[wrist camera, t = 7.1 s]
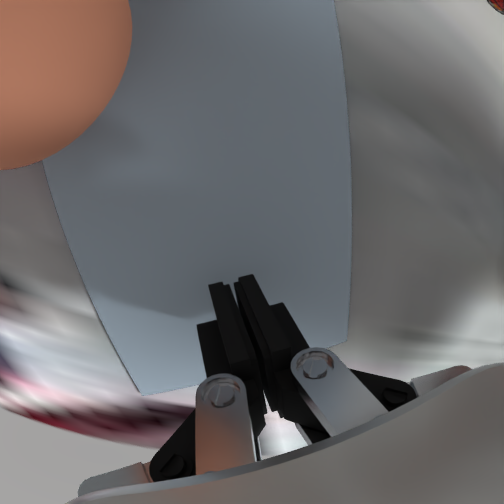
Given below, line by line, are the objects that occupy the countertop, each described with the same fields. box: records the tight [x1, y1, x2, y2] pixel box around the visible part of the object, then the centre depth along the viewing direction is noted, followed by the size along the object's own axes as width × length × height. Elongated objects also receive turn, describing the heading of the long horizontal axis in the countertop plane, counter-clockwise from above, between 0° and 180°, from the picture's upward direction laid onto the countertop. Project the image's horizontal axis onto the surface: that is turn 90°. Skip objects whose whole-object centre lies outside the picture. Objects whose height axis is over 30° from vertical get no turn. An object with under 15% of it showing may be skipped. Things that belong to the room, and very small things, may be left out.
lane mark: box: [42, 0, 352, 396], centre depth 9 cm, size 11×25×1 cm, turn 8°
